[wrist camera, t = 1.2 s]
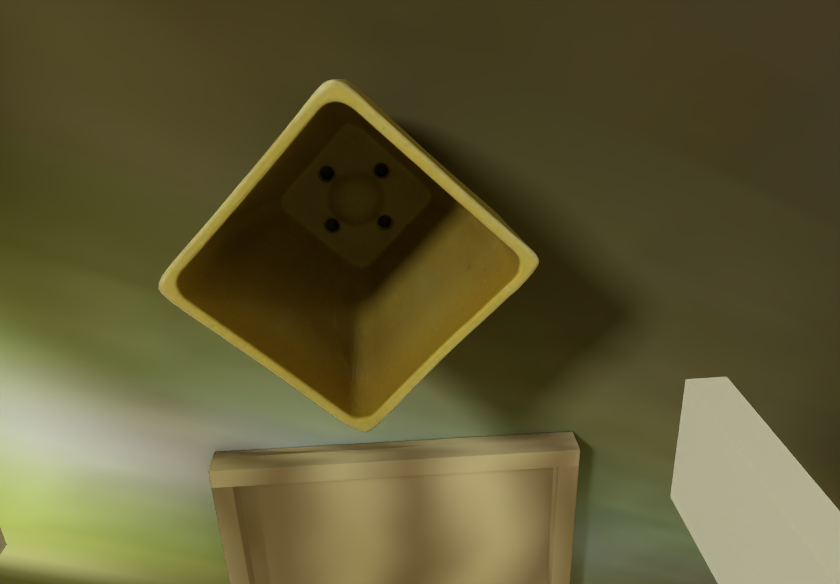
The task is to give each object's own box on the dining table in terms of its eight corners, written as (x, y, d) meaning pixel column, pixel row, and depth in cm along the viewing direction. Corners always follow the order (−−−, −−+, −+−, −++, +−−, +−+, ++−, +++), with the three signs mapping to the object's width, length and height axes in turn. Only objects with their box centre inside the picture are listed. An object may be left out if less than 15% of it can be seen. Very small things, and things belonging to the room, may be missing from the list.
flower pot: (345, 39, 28) (332, 71, 20) (502, 184, 31) (547, 265, 23) (211, 201, 30) (149, 289, 22) (367, 322, 33) (364, 439, 25)
